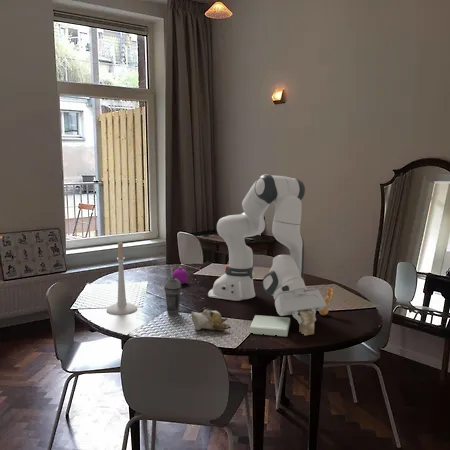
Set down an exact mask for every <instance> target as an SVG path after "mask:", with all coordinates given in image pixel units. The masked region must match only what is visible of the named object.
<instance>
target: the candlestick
mask: <svg viewBox="0 0 450 450" xmlns="http://www.w3.org/2000/svg"><path fill="white" fill-rule="evenodd" d="M123 244H124V243H123V242H121V241H119V242H117V255H118V256H117V257H116V259H117V263H118V278H117V281H118V282H117V303H113V304H111V305H109V306H108V307H107V308H106V312H107V314H109V315H115V316H123V315H124V316H125V315H131V314H133V313H136V312H137V311H138V306H136V305H135V304H133V303H130V302H127V298H126V284H125V274H124V273H125V271H124V270H125V269H124V262H125V259H126V257H124V249H123V248H124V245H123Z"/></svg>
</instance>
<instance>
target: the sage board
mask: <svg viewBox="0 0 450 450" xmlns="http://www.w3.org/2000/svg"><path fill="white" fill-rule="evenodd" d="M290 325H291V317H288V316H287V317H284V316H274V315H273V316H272V315H257V314H255V315H254V317H253V319H252V322H251V324H250V325H249V334H250V333H253V335H263V334H264V335H265V336H266V335H267V336H275V335H277V337H288V334H289V329H290ZM264 335H263V336H264Z"/></svg>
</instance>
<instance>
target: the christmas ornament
mask: <svg viewBox="0 0 450 450" xmlns="http://www.w3.org/2000/svg"><path fill="white" fill-rule="evenodd" d="M173 278H177V279H178V280H179V281H180V283H181V285H183V284H185V283H186V282H187V281H188V278H189V273H188V271H187V270H186V269H184V268H183V267H182V266H181V264H179V266H177V268H176V269H175V270H174V271H173Z"/></svg>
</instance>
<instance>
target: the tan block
mask: <svg viewBox="0 0 450 450" xmlns="http://www.w3.org/2000/svg"><path fill="white" fill-rule="evenodd" d="M299 316H300V317H301V318H303V320H304V323H303V324H299V323H298V324H299V326H298V327H299V328H298V329H299V330H298V331H299V333H300V332H301V333H300V334H302V335H303V334H304V335H303V336H309V335H314V334H315V322H316V321H315V317H316V313H313V312H311V311H309V310H308V311H301V312H300V313H299ZM314 321H315V322H314Z"/></svg>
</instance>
